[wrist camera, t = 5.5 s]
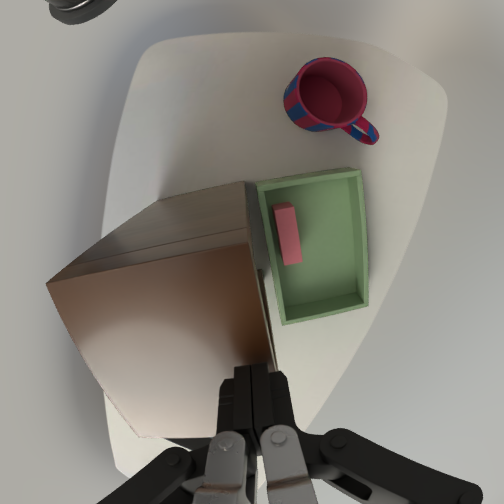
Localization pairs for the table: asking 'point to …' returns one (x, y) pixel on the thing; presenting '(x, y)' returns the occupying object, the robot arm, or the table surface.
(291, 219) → the eraser
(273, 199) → the tray
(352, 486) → the robot arm
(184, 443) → the smartphone
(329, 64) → the cup
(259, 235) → the table surface
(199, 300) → the walnut stand
